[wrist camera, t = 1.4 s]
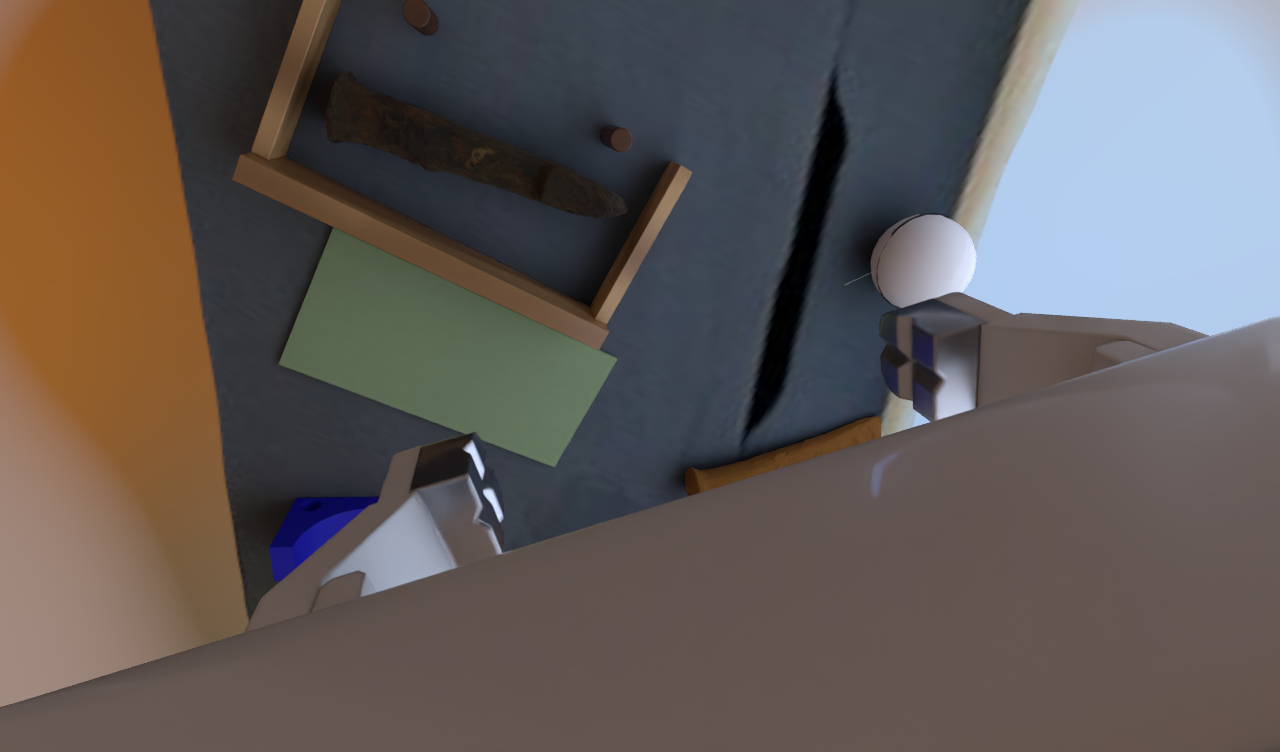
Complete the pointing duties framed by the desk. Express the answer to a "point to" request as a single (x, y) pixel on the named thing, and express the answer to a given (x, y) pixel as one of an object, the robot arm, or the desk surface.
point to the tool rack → (411, 238)
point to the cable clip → (311, 529)
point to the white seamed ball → (922, 259)
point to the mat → (442, 352)
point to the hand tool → (459, 150)
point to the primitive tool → (784, 456)
